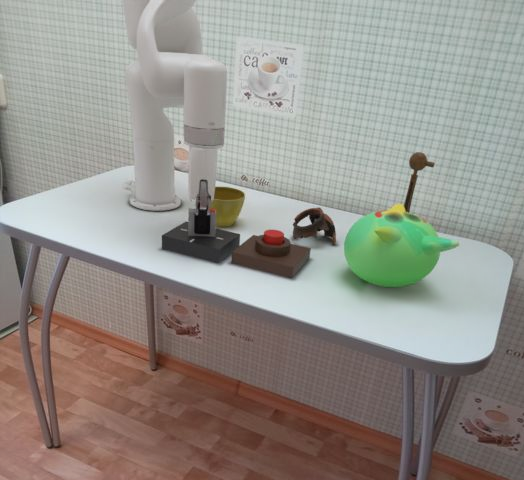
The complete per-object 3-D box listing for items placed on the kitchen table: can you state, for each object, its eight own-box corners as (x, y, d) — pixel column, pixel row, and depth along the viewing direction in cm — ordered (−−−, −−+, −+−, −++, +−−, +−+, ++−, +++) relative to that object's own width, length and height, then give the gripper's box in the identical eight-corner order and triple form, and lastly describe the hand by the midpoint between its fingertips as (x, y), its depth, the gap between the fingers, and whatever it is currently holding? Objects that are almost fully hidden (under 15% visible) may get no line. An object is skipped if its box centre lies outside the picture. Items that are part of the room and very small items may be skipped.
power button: (260, 243, 101) (261, 234, 100) (267, 237, 104) (268, 228, 103) (278, 247, 100) (279, 238, 99) (285, 241, 103) (286, 232, 102)
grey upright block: (188, 235, 104) (188, 210, 101) (188, 231, 106) (188, 207, 103) (215, 236, 105) (216, 211, 102) (214, 233, 107) (215, 208, 104)
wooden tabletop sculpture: (415, 240, 122) (438, 153, 111) (410, 246, 119) (433, 157, 108) (391, 234, 124) (412, 148, 113) (385, 239, 121) (406, 151, 110)
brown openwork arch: (339, 252, 113) (328, 222, 107) (299, 264, 116) (286, 235, 111) (339, 221, 121) (328, 192, 115) (301, 232, 124) (289, 204, 119)
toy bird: (411, 265, 109) (429, 197, 101) (445, 303, 95) (469, 228, 87) (329, 263, 106) (342, 193, 98) (353, 302, 92) (369, 224, 84)
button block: (231, 263, 102) (232, 242, 100) (252, 245, 111) (254, 225, 108) (292, 278, 99) (294, 257, 96) (309, 259, 107) (312, 238, 105)
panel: (161, 249, 105) (161, 234, 103) (185, 234, 113) (185, 220, 111) (218, 263, 101) (219, 248, 100) (239, 247, 109) (240, 233, 108)
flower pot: (228, 234, 115) (230, 203, 111) (191, 223, 119) (192, 192, 115) (251, 222, 122) (253, 193, 118) (215, 212, 126) (217, 183, 122)
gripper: (184, 126, 101) (184, 216, 111) (182, 144, 88) (182, 245, 98) (222, 128, 102) (218, 218, 112) (226, 147, 89) (221, 246, 99)
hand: (202, 230), depth 105 cm, fingers closed on grey upright block, 2 cm apart
